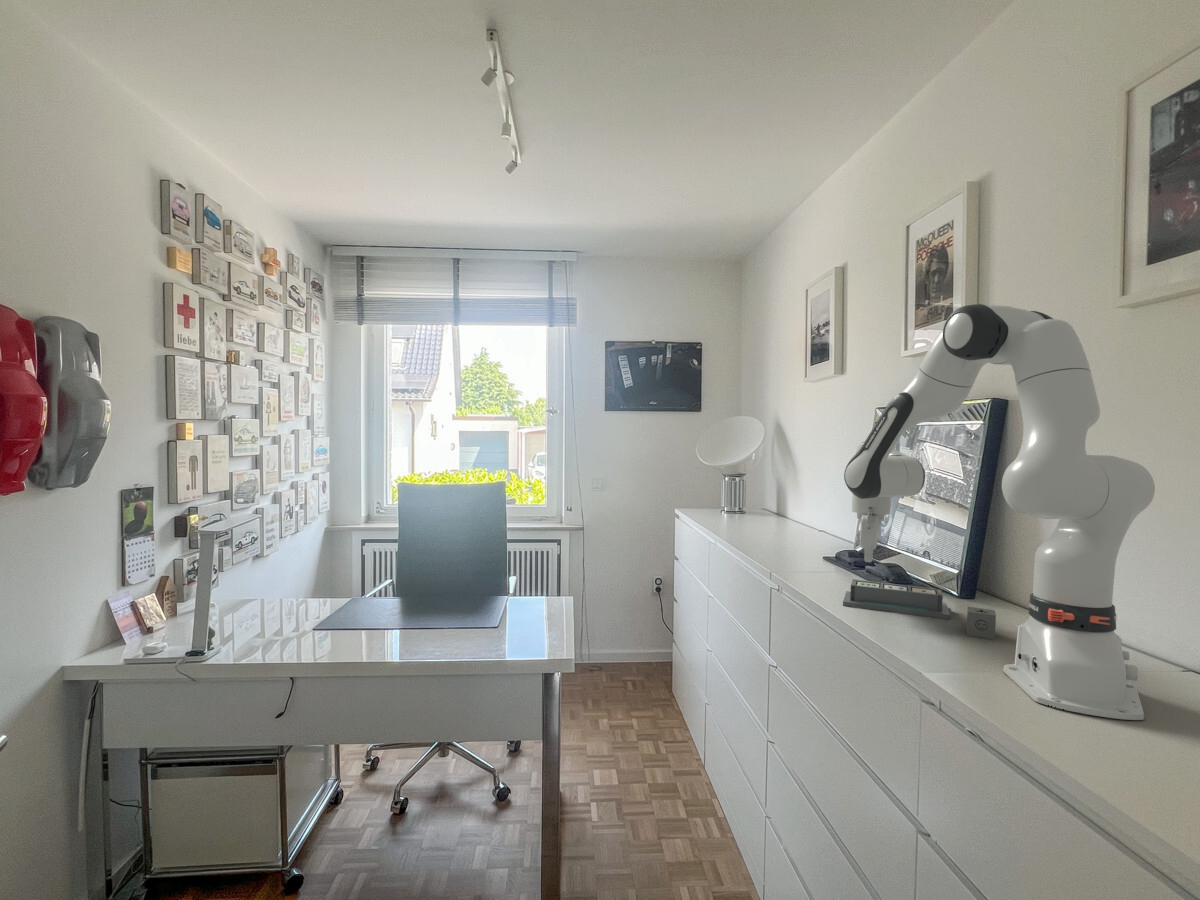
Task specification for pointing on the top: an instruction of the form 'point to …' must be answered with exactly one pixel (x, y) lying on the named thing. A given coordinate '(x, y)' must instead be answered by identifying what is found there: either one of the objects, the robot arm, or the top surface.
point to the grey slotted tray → (897, 600)
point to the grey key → (895, 587)
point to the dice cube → (981, 622)
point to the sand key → (923, 591)
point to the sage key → (868, 584)
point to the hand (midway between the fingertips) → (868, 561)
